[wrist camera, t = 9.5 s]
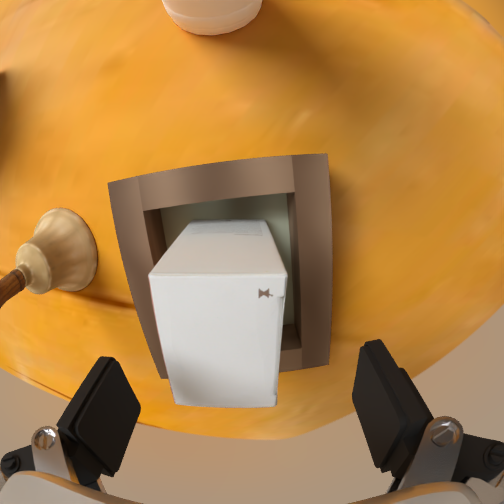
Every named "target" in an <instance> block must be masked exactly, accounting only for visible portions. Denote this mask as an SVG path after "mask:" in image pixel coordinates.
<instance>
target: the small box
mask: <svg viewBox="0 0 504 504" xmlns="http://www.w3.org/2000/svg"><path fill="white" fill-rule="evenodd" d="M148 279H149V285H150V291H151V298H152V304H153V310H154V315H155V320H156V326H157V331H158V335H159V340H160V344H161V349H162V353H163V358H164V362H165V366H166V370H167V374H168V378H169V382H170V386H171V390H172V394H173V397H174V401H175V403H176V404H179V405H188V406H201V407H225V408H258V407H274V406H276V405H277V387H278V374H279V363H280V350H281V338H282V326H283V314H284V304H285V296H286V288H287V279H288V274H287V271H286V269H285V267H284V264H283V262H282V259H281V257H280V254H279V252H278V249H277V247H276V244H275V241H274V239H273V237H272V234H271V232H270V229H269V227H268V225H267V223H266V220H264V219H214V220H192V221H191V222H190V223H189V224H188V225H187V227H186V228H185V229H184V230H183V231H182V233H181V234H180V235H179V236H178V238H177V239H176V240H175V241H174V243H173V244H172V245H171V246H170V247H169V249H168V250H167V251H166V252H165V254H164V255H163V256H162V258H161V259H160V260H159V262H158V263H157V264H156V265H155V267H154V268H153V269H152V271H151V272H150V273H149V275H148Z"/></svg>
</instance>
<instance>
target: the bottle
mask: <svg viewBox="0 0 504 504" xmlns="http://www.w3.org/2000/svg"><path fill="white" fill-rule="evenodd" d="M162 1H163V4H164V6H165V9H166V11H167V13H168V14H169V16H170V17H171V18H172V20H173V21H174V23H175V24H177V25H178V26H179V27H180V28H181V29H183V30H185V31H188V32H191V33H194V34H197V35H218V34H224V33H230V32H232V31H234V30H237V29H239V28H241V27H244V26H246V25H247V24H248V23H249V22H250V21H252V20H253V19H254V18H255V17H256V16H257V14H258V12H259V10H260V8H261V4H262V1H263V0H162Z"/></svg>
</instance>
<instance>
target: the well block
mask: <svg viewBox="0 0 504 504" xmlns="http://www.w3.org/2000/svg"><path fill="white" fill-rule="evenodd" d="M108 189H109V196H110V202H111V208H112V213H113V219H114V224H115V229H116V234H117V239H118V243H119V248H120V252H121V256H122V261H123V265H124V269H125V272H126V276H127V280H128V284H129V287H130V291H131V294H132V298H133V301H134V304H135V308H136V311H137V314H138V317H139V320H140V323H141V326H142V329H143V332H144V335H145V338H146V341H147V344H148V346H149V349H150V352H151V355H152V357H153V360H154V362H155V365H156V368H157V370H158V373H159V375H160V377H161V379H169V378H168V374H167V370H166V366H165V362H164V358H163V353H162V349H161V344H160V340H159V335H158V331H157V326H156V320H155V315H154V310H153V304H152V298H151V291H150V285H149V279H148V275H149V273H150V272H151V271H152V269H153V268H154V267H155V265H156V264H157V263H158V262H159V260H160V259H161V258H162V256H163V255H164V254H165V252H166V251H167V250H168V249H169V247H170V246H171V245H172V244H173V243H174V241H175V240H176V239H177V238H178V236H179V235H180V234H181V233H182V231H183V230H184V229H185V228H186V227H187V225H188V224H189V223H190V222H191V221H192V220H214V219H264V220H266V223H267V225H268V227H269V229H270V232H271V234H272V237H273V239H274V241H275V244H276V247H277V249H278V252H279V254H280V257H281V259H282V262H283V264H284V267H285V269H286V271H287V274H288V279H287V288H286V296H285V304H284V314H283V326H282V338H281V350H280V363H279V372H286V371H293V370H300V369H306V368H313V367H318V366H324V365H329V354H330V338H331V317H332V217H331V196H330V180H329V167H328V155H327V154H304V155H288V156H274V157H262V158H252V159H242V160H234V161H225V162H218V163H210V164H203V165H196V166H190V167H184V168H178V169H172V170H166V171H161V172H156V173H151V174H146V175H141V176H136V177H131V178H127V179H122V180H118V181H114V182H109V183H108Z"/></svg>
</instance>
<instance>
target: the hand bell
mask: <svg viewBox="0 0 504 504" xmlns="http://www.w3.org/2000/svg"><path fill="white" fill-rule="evenodd" d="M96 268H97V248H96V244H95V240H94V238H93V235H92V233H91V231H90V229H89V228H88V226H87V225H86V223H85V222H84V221H83V220H82V218H81V217H79V216H78V215H77V214H76V213H74V212H73V211H71V210H69V209H65V208H54V209H51V210H49V211H47V212H46V213H45V214H44V215H43V216H42V217H41V219H40V220H39V222H38V223H37V226H36V228H35V231H34V236H33V237H32V238H31V239H30V240H29V241H27V242H26V243H24V244H23V245H22V246H21V247H20V248H19V250H18V252H17V255H16V268H15V269H14V270H13V271H11V272H10V273H9V274H7V275H6V276H5V277H4V278H2V279H1V280H0V308H1V307H2V305H3V304H4V303H5V302H6V301H7V300H9V299H10V298H11V297H13V296H14V295H16V294H17V293H19V292H20V291H22V290H23V289H24V288H25V287H26V288H27V289H28V290H29V291H31V292H32V293H35V294H44V293H46V292H48V291H50V290H52V289H54V288H57V287H58V288H59V289H62V290H66V291H78V290H81V289H83V288H85V287H86V286H87V285H88V284H89V283H90V282H91V281H92V279H93V277H94V275H95V273H96Z"/></svg>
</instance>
